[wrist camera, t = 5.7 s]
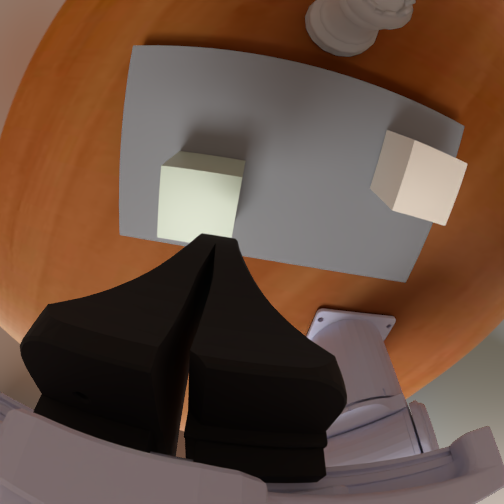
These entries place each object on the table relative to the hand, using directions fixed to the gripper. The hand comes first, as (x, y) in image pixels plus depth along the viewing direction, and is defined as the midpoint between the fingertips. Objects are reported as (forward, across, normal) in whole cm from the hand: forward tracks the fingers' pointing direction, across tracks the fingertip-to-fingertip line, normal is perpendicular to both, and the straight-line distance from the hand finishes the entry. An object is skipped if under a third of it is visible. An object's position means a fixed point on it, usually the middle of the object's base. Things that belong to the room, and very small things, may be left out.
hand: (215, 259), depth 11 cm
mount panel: (+10, -3, -2) cm, 11 cm away
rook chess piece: (+10, -4, -12) cm, 16 cm away
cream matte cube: (+8, -10, -4) cm, 14 cm away
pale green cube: (+8, +2, 0) cm, 9 cm away
